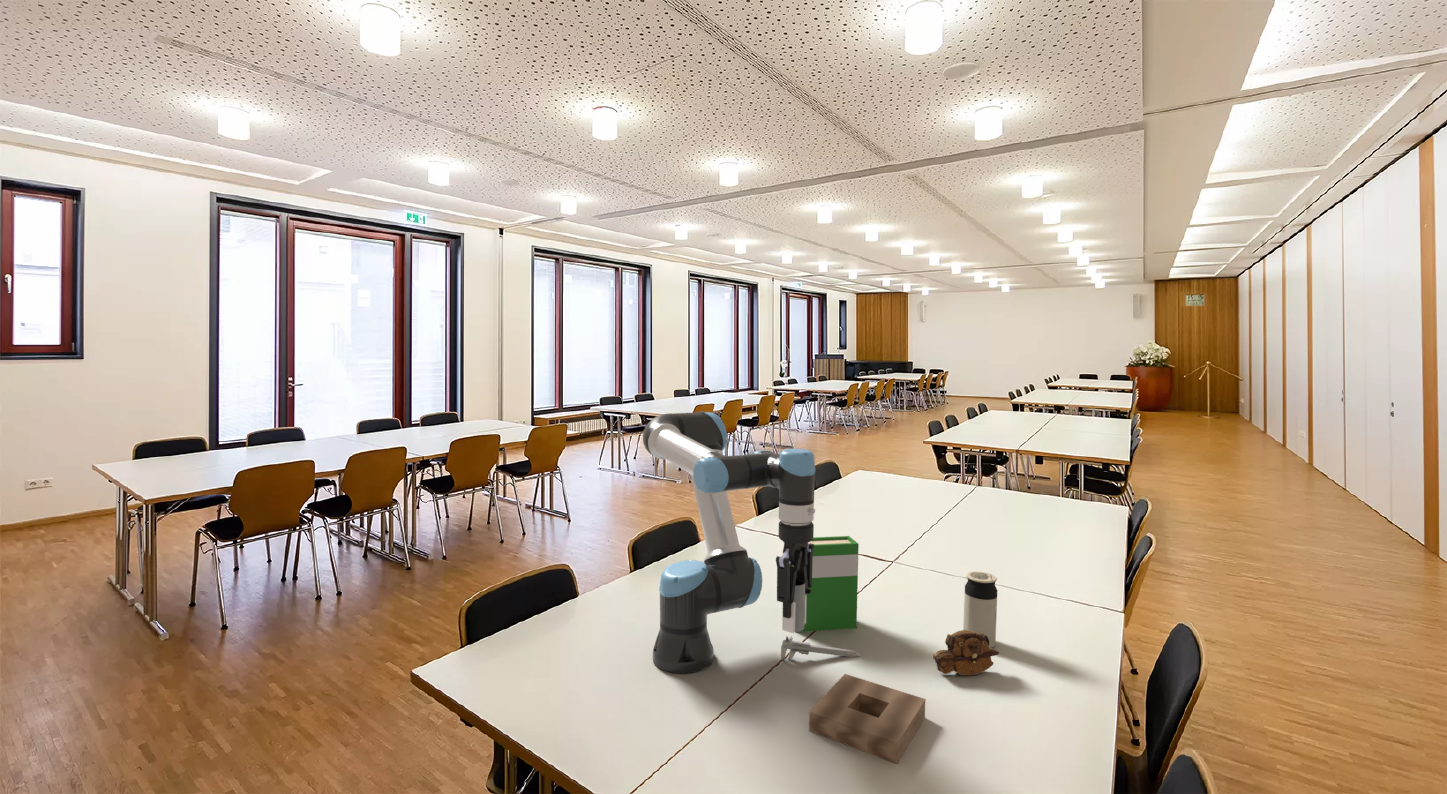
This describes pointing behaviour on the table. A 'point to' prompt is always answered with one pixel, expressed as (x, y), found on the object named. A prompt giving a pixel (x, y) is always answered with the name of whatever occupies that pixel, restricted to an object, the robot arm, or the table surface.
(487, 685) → the table surface
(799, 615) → the grey metal tube
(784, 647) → the caliper
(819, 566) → the hardback book
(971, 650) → the wooden carving
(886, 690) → the socket board
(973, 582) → the travel mug
